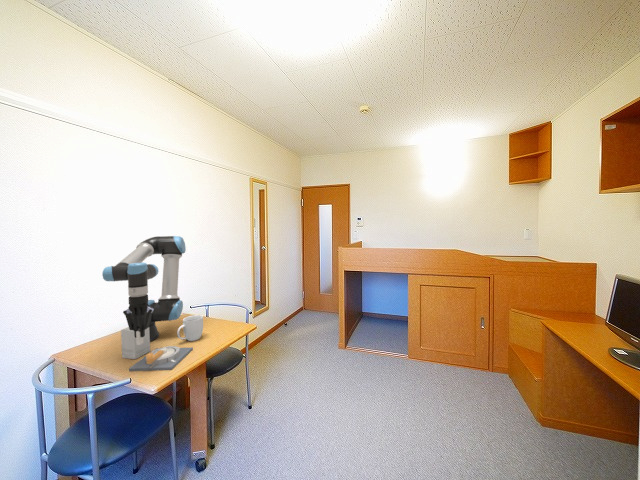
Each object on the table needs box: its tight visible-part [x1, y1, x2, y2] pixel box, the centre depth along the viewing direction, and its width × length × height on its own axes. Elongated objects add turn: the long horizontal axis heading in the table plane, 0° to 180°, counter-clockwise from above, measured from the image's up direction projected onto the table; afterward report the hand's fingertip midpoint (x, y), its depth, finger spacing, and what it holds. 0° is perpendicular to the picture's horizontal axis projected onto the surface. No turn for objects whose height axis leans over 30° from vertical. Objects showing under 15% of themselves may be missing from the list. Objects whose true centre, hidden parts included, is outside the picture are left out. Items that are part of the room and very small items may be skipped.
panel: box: [128, 345, 194, 372], centre depth 125 cm, size 20×20×4 cm
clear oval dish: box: [145, 347, 175, 364], centre depth 121 cm, size 16×10×6 cm, turn 1°
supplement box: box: [120, 326, 151, 360], centre depth 130 cm, size 9×9×15 cm
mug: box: [176, 314, 204, 342], centre depth 147 cm, size 15×11×13 cm
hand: (140, 343), depth 117 cm, fingers closed
